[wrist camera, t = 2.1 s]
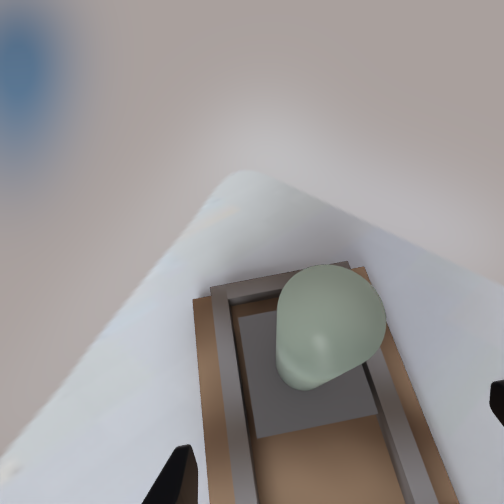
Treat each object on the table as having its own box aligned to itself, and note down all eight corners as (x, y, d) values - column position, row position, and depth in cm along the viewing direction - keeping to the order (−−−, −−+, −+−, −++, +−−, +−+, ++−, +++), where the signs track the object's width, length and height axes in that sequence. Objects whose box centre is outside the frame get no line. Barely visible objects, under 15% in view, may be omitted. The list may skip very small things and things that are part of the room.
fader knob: (367, 413, 16) (506, 418, 6) (259, 435, 16) (235, 475, 6) (333, 308, 19) (394, 202, 9) (241, 326, 19) (206, 237, 9)
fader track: (503, 643, 13) (554, 696, 11) (232, 704, 13) (223, 773, 10) (359, 273, 21) (370, 256, 19) (196, 304, 21) (186, 291, 19)
